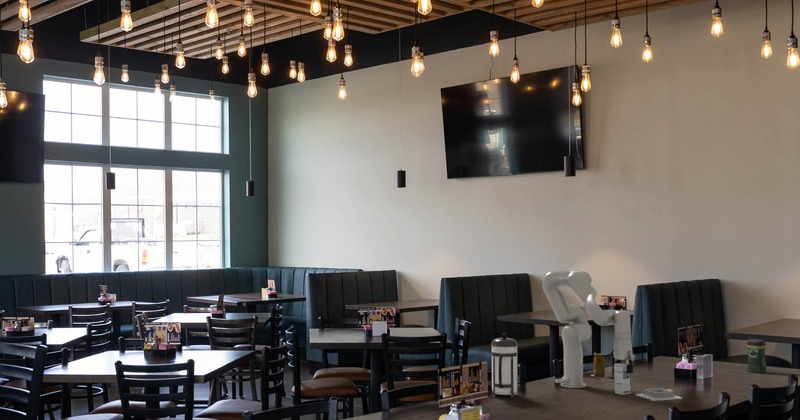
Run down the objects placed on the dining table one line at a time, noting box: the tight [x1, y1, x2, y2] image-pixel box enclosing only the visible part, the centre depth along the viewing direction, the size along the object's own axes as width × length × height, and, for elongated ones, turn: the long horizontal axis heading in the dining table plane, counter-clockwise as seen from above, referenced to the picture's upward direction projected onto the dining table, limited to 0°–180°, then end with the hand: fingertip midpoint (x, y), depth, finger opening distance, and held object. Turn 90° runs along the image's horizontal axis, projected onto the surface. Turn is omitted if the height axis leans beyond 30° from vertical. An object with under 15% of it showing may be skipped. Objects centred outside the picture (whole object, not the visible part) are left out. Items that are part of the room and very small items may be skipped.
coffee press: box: [490, 332, 519, 399], centre depth 390 cm, size 17×16×30 cm
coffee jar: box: [746, 338, 767, 374], centre depth 463 cm, size 10×8×19 cm
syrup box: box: [613, 362, 633, 396], centre depth 397 cm, size 6×6×14 cm
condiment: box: [590, 353, 609, 379], centre depth 448 cm, size 7×8×12 cm
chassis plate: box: [634, 387, 683, 402], centre depth 388 cm, size 16×14×3 cm
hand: (624, 371), depth 397 cm, fingers open, 9 cm apart
